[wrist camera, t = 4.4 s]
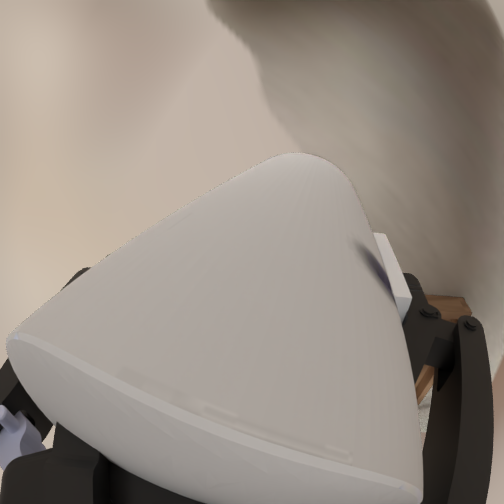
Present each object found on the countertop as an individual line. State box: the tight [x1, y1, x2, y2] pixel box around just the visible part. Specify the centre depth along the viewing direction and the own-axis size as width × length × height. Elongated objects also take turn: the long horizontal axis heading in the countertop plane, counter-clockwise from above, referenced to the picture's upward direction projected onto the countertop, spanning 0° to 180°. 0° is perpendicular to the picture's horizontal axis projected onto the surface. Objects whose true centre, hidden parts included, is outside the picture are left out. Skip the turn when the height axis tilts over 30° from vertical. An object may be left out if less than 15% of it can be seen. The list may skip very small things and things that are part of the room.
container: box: [6, 153, 423, 504], centre depth 13 cm, size 10×10×20 cm
